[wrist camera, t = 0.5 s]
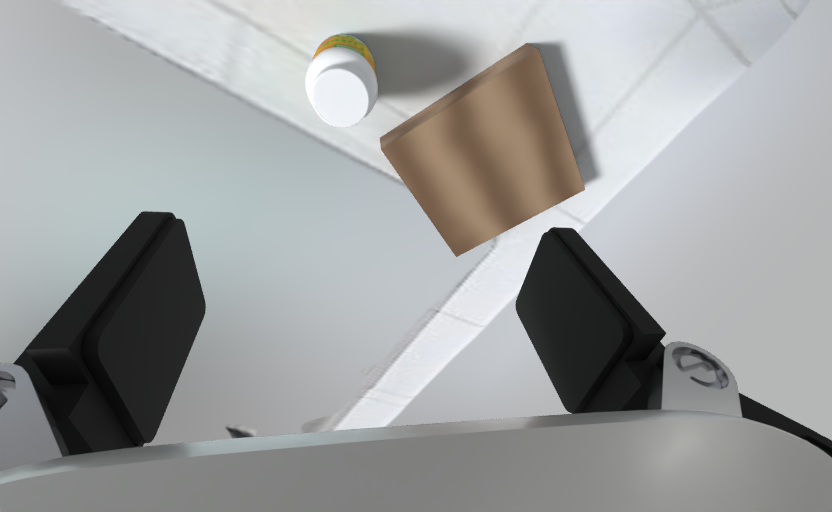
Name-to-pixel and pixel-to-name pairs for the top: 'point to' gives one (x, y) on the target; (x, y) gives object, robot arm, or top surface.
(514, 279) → the top surface
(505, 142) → the walnut base
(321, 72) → the supplement bottle
